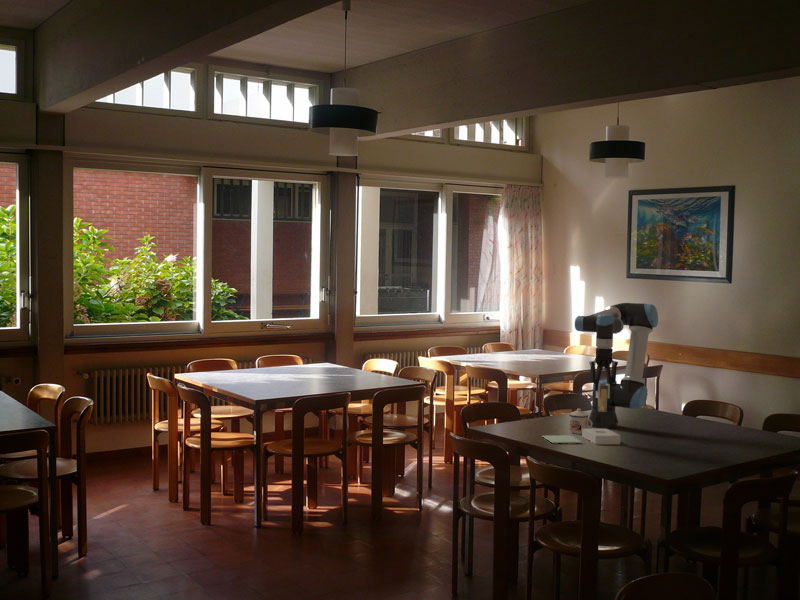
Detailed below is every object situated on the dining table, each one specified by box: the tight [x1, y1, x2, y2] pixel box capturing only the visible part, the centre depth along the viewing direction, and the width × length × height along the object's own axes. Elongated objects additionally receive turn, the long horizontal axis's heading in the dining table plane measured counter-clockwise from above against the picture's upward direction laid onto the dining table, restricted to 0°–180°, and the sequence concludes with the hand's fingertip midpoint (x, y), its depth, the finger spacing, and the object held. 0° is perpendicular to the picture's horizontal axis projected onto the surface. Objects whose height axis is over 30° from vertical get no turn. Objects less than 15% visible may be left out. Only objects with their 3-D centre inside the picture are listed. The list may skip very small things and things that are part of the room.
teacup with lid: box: [568, 408, 593, 435], centre depth 396 cm, size 12×9×12 cm
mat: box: [541, 434, 583, 444], centre depth 377 cm, size 14×14×1 cm
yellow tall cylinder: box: [598, 385, 607, 412], centre depth 379 cm, size 4×4×12 cm
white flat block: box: [581, 428, 621, 445], centre depth 380 cm, size 16×12×4 cm
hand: (602, 397), depth 379 cm, fingers closed on yellow tall cylinder, 4 cm apart
